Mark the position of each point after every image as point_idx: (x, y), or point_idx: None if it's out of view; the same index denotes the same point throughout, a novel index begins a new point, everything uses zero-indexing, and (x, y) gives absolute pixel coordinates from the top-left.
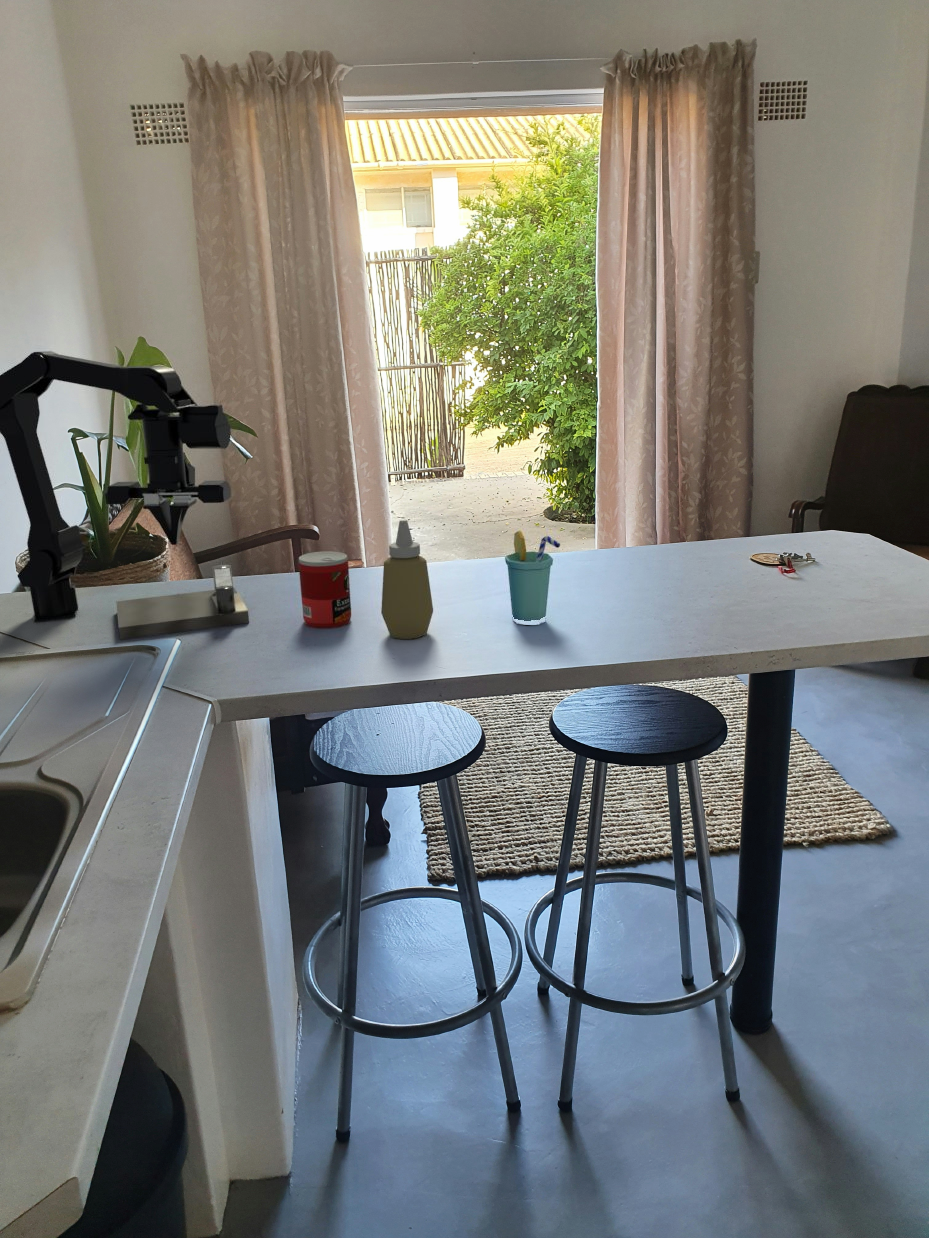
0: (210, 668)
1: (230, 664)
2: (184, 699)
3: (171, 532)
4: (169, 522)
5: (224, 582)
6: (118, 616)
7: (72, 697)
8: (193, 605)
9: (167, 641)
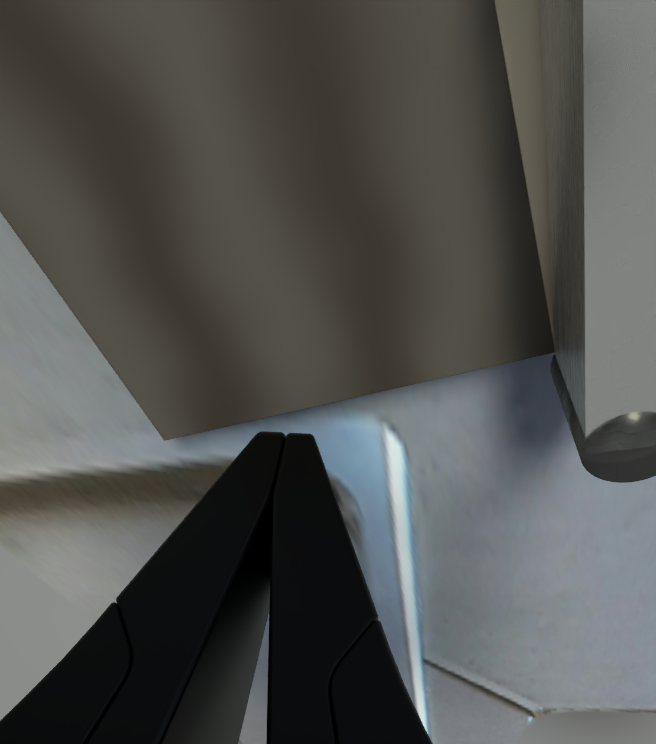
0: (521, 611)
1: (573, 601)
2: (479, 700)
3: (261, 605)
4: (219, 729)
5: (644, 349)
6: (77, 313)
7: (255, 669)
8: (396, 178)
9: (354, 440)
